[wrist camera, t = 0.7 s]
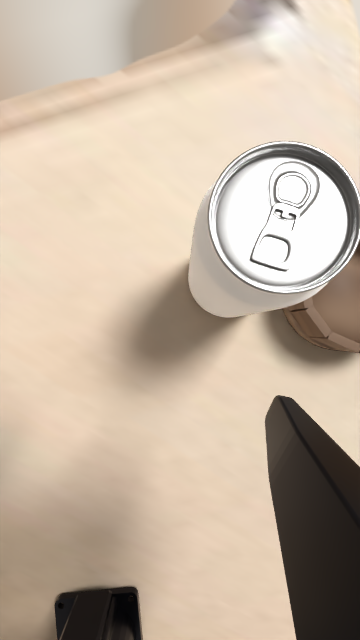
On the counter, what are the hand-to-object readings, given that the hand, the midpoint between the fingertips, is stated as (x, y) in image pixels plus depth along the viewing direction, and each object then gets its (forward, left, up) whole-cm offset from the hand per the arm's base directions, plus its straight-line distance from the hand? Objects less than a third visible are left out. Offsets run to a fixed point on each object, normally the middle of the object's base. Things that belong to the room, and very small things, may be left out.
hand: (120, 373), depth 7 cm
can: (+5, -6, -14) cm, 16 cm away
